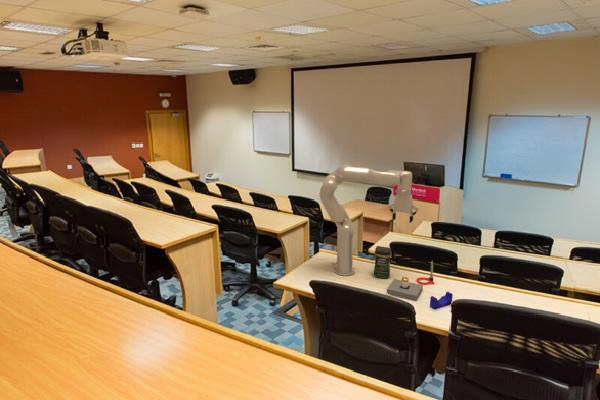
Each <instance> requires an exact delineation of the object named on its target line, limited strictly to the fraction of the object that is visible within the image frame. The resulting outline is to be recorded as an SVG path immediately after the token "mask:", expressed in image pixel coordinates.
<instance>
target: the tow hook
mask: <svg viewBox="0 0 600 400" xmlns="http://www.w3.org/2000/svg"><path fill="white" fill-rule="evenodd" d="M422 280H424V281H425V280H426V281H427V282H423V281H422ZM416 282H417V283H416V284H420V285H423V286H427V285H428V286H429V285H435V282H434V263H433V260H431V264H430V273H429V277H427V276H426V277H425V276H422V277H421V276H420V277H417V278H416Z"/></svg>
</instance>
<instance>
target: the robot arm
mask: <svg viewBox="0 0 600 400" xmlns="http://www.w3.org/2000/svg"><path fill="white" fill-rule="evenodd" d="M345 181H346V182H354V183H355V182H356V183H357V182H358V183H364V184H365V183H366V184H371V185H377V186H383V187H396V186H397V189H395V190H394V193H396V194H395V196H394V203H391V204H389V205H388V209H389V211H390V212H391V215H392V217H391V218H392V221H395V220H396V219H397V213H396V212H398V213H403V214H404V213H405V214H409V215H410V216H409V224H411V223H413V221H414V216H415V215H416V214H417V213H418V211H419V210H420V209H419V208H418V207H417V206H415V205H413V203H414V202H413V195H412V184H413V183H412V181H413V172H412V171H409V170H401V171H399V170H395V169H394V170H391V169H390V170H387V171H385V172H382V171H378V170H375V169H372V168H369V167H360V166H351V165H350V164H346V163H345V164H342V165H340V166H339V167H338V168H336V169H335V170H334V171H332V172H330V173H329V174H327V176H325V178H324V180H323V183H322V185H321V187H320V189H319V199H320V202H321V204H322V205H323V207H324V209H325V211H326V213H327V215H328V217H329V219H330V221H332V222H333V223H335V226H336V227H337V229H336V231H337V232H336V233H337V235H336V236H337V241H336V262H333V261H332V262H331V263H330V265H331V268H332V267H333V268H334V273H335V274H336V275H339V276H345V277H346V276H352V275H354V274H355V271H356V269H355V267H353V264H354V263H353V261H354V260H353V259H354V256H353V255H354V238H355V237H354V235H355V230H354V225H353V222H352V220H351V218H350V216H349V215H348V213H347V211H346V209H345V208H344V206H343V205H342V204H341V203H339V201H338V200H337V198H336V196H335V192H336V191H337V190H338V186H339V185H340V184H342V183H343V182H345ZM392 207H393V208H392ZM413 210H414V212H413Z"/></svg>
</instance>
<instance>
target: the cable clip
mask: <svg viewBox="0 0 600 400" xmlns="http://www.w3.org/2000/svg"><path fill="white" fill-rule="evenodd" d="M453 297H454V296H453V293H451V292H450V291H445V294H444V295H443V296H441V297H440V298H439V299H438V298H437V297H436V296H433V295H431V296H430V300H429V308H431V309H432V310H434V311H435V310H437V309H441V308H444V307H449V306H451V305H452V304H451V302H453ZM450 304H451V305H450Z"/></svg>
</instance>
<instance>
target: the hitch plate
mask: <svg viewBox="0 0 600 400" xmlns="http://www.w3.org/2000/svg"><path fill="white" fill-rule="evenodd" d="M401 283H402V279H397V278H393V280H392V281H391V282H390V284H389V285H388V286H387V288H386V294H387V293H388V294H387V295H389V294H390V295H389V296H393V297H396V298H401V299H406V300H410V301H414V302H417V301H418V299H419V297H420V295H421V294H422V292H423V286H424V285H423V284H419V283H415V282H410V281H409V282H408V290H406V289H402V288H401Z"/></svg>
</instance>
